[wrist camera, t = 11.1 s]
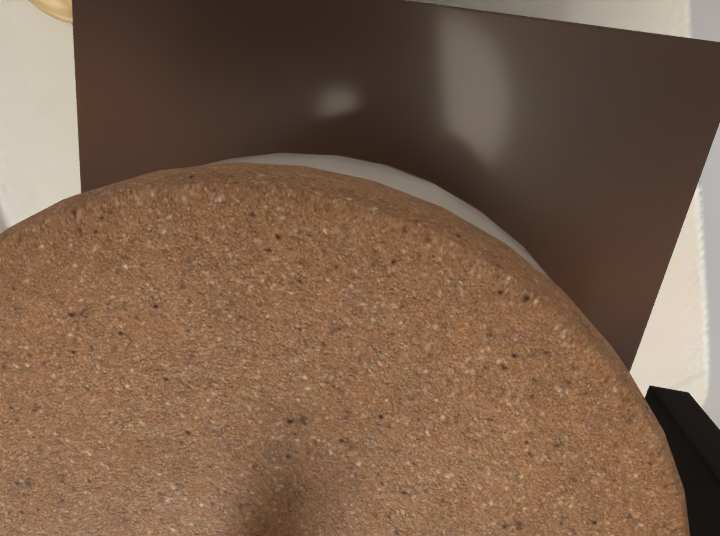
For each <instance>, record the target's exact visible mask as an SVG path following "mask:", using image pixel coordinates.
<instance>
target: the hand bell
mask: <svg viewBox="0 0 720 536" xmlns="http://www.w3.org/2000/svg"><path fill="white" fill-rule="evenodd" d="M29 1H30V2H31V3H32V4H34V5H35V6H36V7H37V8H39V9H40V10H41V11H43V12H45V13H46V14H48V15H50V16H52V17H54V18H56V19H58V20H61V21H64V22H68V23H73V19H72V0H29Z"/></svg>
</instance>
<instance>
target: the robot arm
mask: <svg viewBox="0 0 720 536" xmlns="http://www.w3.org/2000/svg"><path fill="white" fill-rule="evenodd" d="M645 400H646V402H647V403H648V405H649V407H650V409H651V410H652V412H653V414H654V415H655V417H656V419H657V420H658V422H659V424H660V425H661V427H662V429H663V431H664V433H665V436H666V439H667V442H668V445H669V447H670V450H671V453H672V456H673V459H674V462H675V465H676V468H677V470H678V473H679V476H680V479H681V482H682V485H683V488H684V491H685V499H686V507H687V515H688V523H689V531H690V536H720V430H719V429H718V427H717V426H716V425H715V424H714V422H713V421H712V420H711V419H710V418H709V417H708V415H707V414H706V413H705V412H704V411H703V409H702V408H701V407H700V406H699V404H698V403H697V402H696V401H695V400H694V398H693V397H692V396H691V395H690V394H689V393H688V392H683V391H677V390H672V389H666V388H661V387H655V386H649V388H648V391H647V394H646V396H645Z"/></svg>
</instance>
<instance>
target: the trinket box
mask: <svg viewBox="0 0 720 536" xmlns="http://www.w3.org/2000/svg"><path fill="white" fill-rule="evenodd" d="M0 536H690V531H689V523H688V515H687V507H686V499H685V491H684V488H683V485H682V482H681V479H680V476H679V473H678V470H677V468H676V465H675V462H674V459H673V456H672V453H671V450H670V447H669V445H668V442H667V439H666V436H665V433H664V431H663V429H662V427H661V425H660V424H659V422H658V420H657V419H656V417H655V415H654V414H653V412H652V410H651V409H650V407H649V405H648V403H647V402H646V400H645V398H644V397H643V395H642V393H641V392H640V390H639V388H638V387H637V385H636V383H635V381H634V380H633V378H632V376H631V375H630V373H629V371H628V370H627V368H626V367H625V365H624V363H623V362H622V360H621V359H620V357H619V356H618V355H617V353H616V352H615V351H614V349H613V348H612V346H611V345H610V344H609V343H608V342H607V340H606V339H605V338H604V337H603V336H602V335H601V333H600V332H599V331H598V330H597V329H596V328H595V327H594V325H593V324H592V323H591V322H590V321H589V320H588V318H587V317H586V316H585V315H584V314H583V313H582V312H581V310H580V309H579V308H578V307H577V306H576V305H575V304H574V302H573V301H572V300H571V299H570V298H569V297H568V295H567V294H566V293H565V292H564V291H563V290H562V289H561V288H560V287H558V286H557V285H556V284H555V283H554V281H553V280H552V279H551V278H550V277H549V276H548V274H547V273H546V272H545V271H544V270H543V269H542V268H541V266H540V265H539V264H538V263H537V262H536V261H535V259H534V258H533V257H532V256H531V255H530V254H529V253H528V251H527V250H526V249H525V248H524V247H523V246H522V245H521V244H519V243H518V242H517V241H516V240H515V239H513V238H512V237H511V236H510V235H509V234H507V233H506V232H505V231H504V230H502V229H501V228H500V227H499V226H498V225H496V224H495V223H494V222H493V221H491V220H490V219H489V218H488V217H487V216H485V215H484V214H483V213H482V212H480V211H479V210H478V209H476V208H475V207H473V206H472V205H470V204H468V203H467V202H465V201H463V200H462V199H460V198H458V197H456V196H455V195H453V194H451V193H450V192H448V191H446V190H444V189H443V188H441V187H439V186H437V185H436V184H434V183H432V182H430V181H427V180H424V179H422V178H419V177H417V176H414V175H412V174H409V173H406V172H404V171H401V170H399V169H396V168H393V167H391V166H388V165H383V164H379V163H374V162H369V161H365V160H360V159H355V158H351V157H346V156H339V155H319V154H299V153H275V154H266V155H257V156H249V157H240V158H231V159H226V160H222V161H218V162H214V163H210V164H206V165H202V166H193V167H185V168H176V169H167V170H159V171H155V172H151V173H148V174H144V175H141V176H138V177H134V178H131V179H128V180H124V181H121V182H117V183H114V184H111V185H107V186H104V187H101V188H97V189H94V190H91V191H87V192H84V193H81V194H78V195H75V196H72V197H69V198H66V199H63V200H62V201H60V202H58V203H56V204H54V205H52V206H50V207H48V208H46V209H44V210H42V211H40V212H39V213H37V214H35V215H33V216H31V217H29V218H27V219H25V220H23V221H21V222H19V223H17V224H16V225H14V226H12V227H10V228H8V229H6V230H5V231H4V232H3V233H1V234H0Z"/></svg>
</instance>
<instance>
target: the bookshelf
mask: <svg viewBox="0 0 720 536" xmlns="http://www.w3.org/2000/svg"><path fill="white" fill-rule="evenodd" d="M72 19H73V39H74V59H75V79H76V99H77V119H78V139H79V159H80V179H81V193H84V192H87V191H91V190H94V189H97V188H101V187H104V186H107V185H111V184H114V183H117V182H121V181H124V180H128V179H131V178H134V177H138V176H141V175H144V174H148V173H151V172H155V171H159V170H167V169H176V168H185V167H193V166H202V165H206V164H210V163H214V162H218V161H222V160H226V159H231V158H240V157H249V156H257V155H266V154H275V153H299V154H319V155H339V156H346V157H351V158H355V159H360V160H365V161H369V162H374V163H379V164H383V165H388V166H391V167H393V168H396V169H399V170H401V171H404V172H406V173H409V174H412V175H414V176H417V177H419V178H422V179H424V180H427V181H430V182H432V183H434V184H436V185H437V186H439V187H441V188H443V189H444V190H446V191H448V192H450V193H451V194H453V195H455V196H456V197H458V198H460V199H462V200H463V201H465V202H467V203H468V204H470V205H472V206H473V207H475V208H476V209H478V210H479V211H480V212H482V213H483V214H484V215H485V216H487V217H488V218H489V219H490V220H491V221H493V222H494V223H495V224H496V225H498V226H499V227H500V228H501V229H502V230H504V231H505V232H506V233H507V234H509V235H510V236H511V237H512V238H513V239H515V240H516V241H517V242H518V243H519V244H521V245H522V246H523V247H524V248H525V249H526V250H527V251H528V253H529V254H530V255H531V256H532V257H533V258H534V259H535V261H536V262H537V263H538V264H539V265H540V266H541V268H542V269H543V270H544V271H545V272H546V273H547V274H548V276H549V277H550V278H551V279H552V280H553V281H554V283H555V284H556V285H557V286H558V287H560V288H561V289H562V290H563V291H564V292H565V293H566V294H567V295H568V297H569V298H570V299H571V300H572V301H573V302H574V304H575V305H576V306H577V307H578V308H579V309H580V310H581V312H582V313H583V314H584V315H585V316H586V317H587V318H588V320H589V321H590V322H591V323H592V324H593V325H594V327H595V328H596V329H597V330H598V331H599V332H600V333H601V335H602V336H603V337H604V338H605V339H606V340H607V342H608V343H609V344H610V345H611V346H612V348H613V349H614V351H615V352H616V353H617V355H618V356H619V357H620V359H621V360H622V362H623V363H624V365H625V367H626V368H627V370H628V371H629V372H630V369H631V367H632V364H633V361H634V358H635V356H636V353H637V350H638V347H639V344H640V342H641V339H642V336H643V333H644V331H645V328H646V325H647V322H648V320H649V317H650V314H651V311H652V308H653V306H654V303H655V300H656V297H657V295H658V292H659V289H660V286H661V284H662V281H663V278H664V275H665V273H666V270H667V267H668V264H669V261H670V259H671V256H672V253H673V250H674V248H675V245H676V242H677V239H678V237H679V234H680V231H681V228H682V225H683V223H684V220H685V217H686V214H687V212H688V209H689V206H690V203H691V201H692V198H693V195H694V192H695V190H696V187H697V184H698V181H699V178H700V176H701V173H702V170H703V167H704V165H705V162H706V159H707V156H708V153H709V151H710V148H711V145H712V142H713V140H714V137H715V134H716V131H717V129H718V126H719V123H720V42H714V41H707V40H699V39H692V38H685V37H677V36H670V35H662V34H655V33H647V32H640V31H632V30H625V29H617V28H610V27H602V26H595V25H587V24H580V23H572V22H564V21H557V20H549V19H542V18H534V17H527V16H519V15H512V14H504V13H497V12H489V11H482V10H474V9H467V8H459V7H452V6H444V5H437V4H429V3H422V2H414V1H407V0H72Z"/></svg>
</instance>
